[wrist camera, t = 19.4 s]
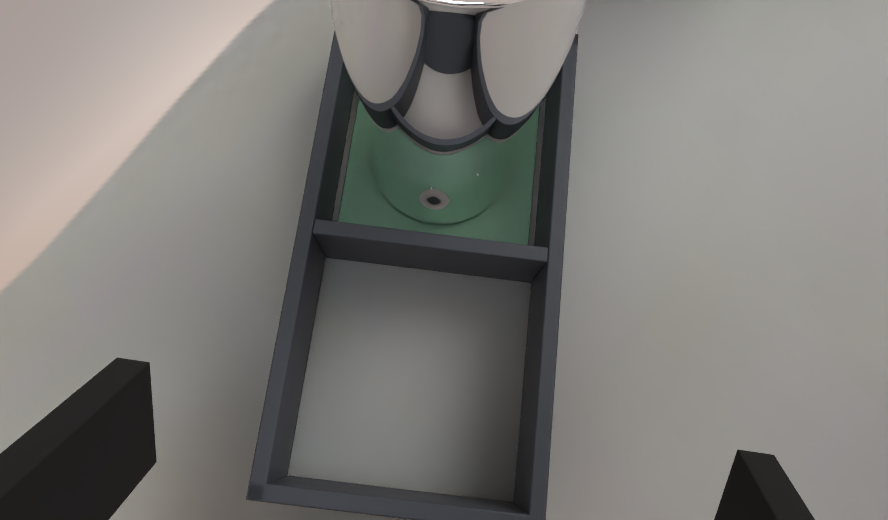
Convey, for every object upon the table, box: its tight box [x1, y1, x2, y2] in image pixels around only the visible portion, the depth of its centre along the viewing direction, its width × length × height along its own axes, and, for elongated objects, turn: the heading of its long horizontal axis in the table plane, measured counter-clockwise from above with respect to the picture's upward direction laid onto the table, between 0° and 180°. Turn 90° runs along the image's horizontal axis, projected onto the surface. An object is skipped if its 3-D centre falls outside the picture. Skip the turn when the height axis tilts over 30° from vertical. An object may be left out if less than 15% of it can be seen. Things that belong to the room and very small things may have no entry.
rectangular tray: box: [246, 31, 578, 520], centre depth 25 cm, size 10×20×4 cm, turn 173°
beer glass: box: [330, 0, 587, 224], centre depth 21 cm, size 7×7×15 cm
